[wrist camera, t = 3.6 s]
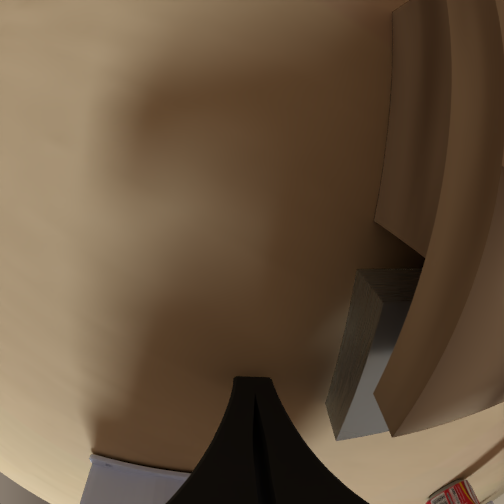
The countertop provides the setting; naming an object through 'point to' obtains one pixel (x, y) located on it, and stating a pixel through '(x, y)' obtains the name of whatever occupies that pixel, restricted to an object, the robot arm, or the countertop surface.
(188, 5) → the countertop surface
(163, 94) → the countertop surface
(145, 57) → the countertop surface
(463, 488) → the soda can
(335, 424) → the grey rectangular block
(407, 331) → the brown layered blocky piece
